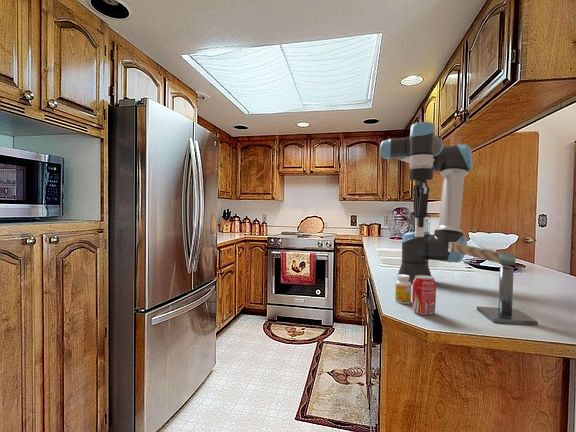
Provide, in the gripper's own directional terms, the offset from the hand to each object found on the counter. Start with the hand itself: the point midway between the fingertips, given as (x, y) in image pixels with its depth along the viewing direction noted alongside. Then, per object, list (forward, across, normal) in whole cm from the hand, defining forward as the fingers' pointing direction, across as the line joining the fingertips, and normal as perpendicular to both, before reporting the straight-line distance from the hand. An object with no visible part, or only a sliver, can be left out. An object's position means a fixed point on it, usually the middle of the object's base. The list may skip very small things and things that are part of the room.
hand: (419, 236), depth 112 cm
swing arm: (+8, +6, -22) cm, 24 cm away
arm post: (+25, -7, -25) cm, 36 cm away
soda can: (+25, -7, 0) cm, 26 cm away
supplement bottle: (+25, +4, +4) cm, 25 cm away
